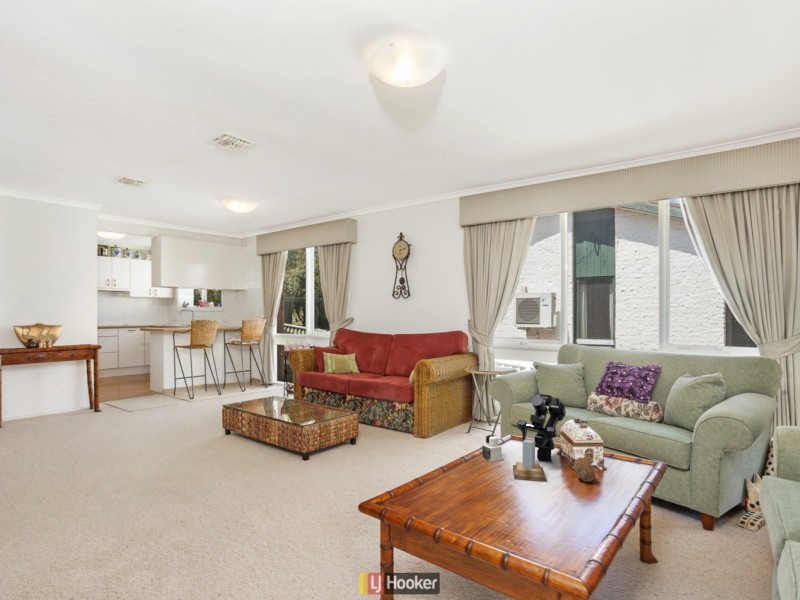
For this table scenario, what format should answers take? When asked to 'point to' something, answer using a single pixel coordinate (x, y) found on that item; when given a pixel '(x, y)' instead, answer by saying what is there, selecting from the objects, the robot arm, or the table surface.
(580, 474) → the brown rock
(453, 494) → the table surface
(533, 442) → the block
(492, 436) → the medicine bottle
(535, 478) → the plinth
